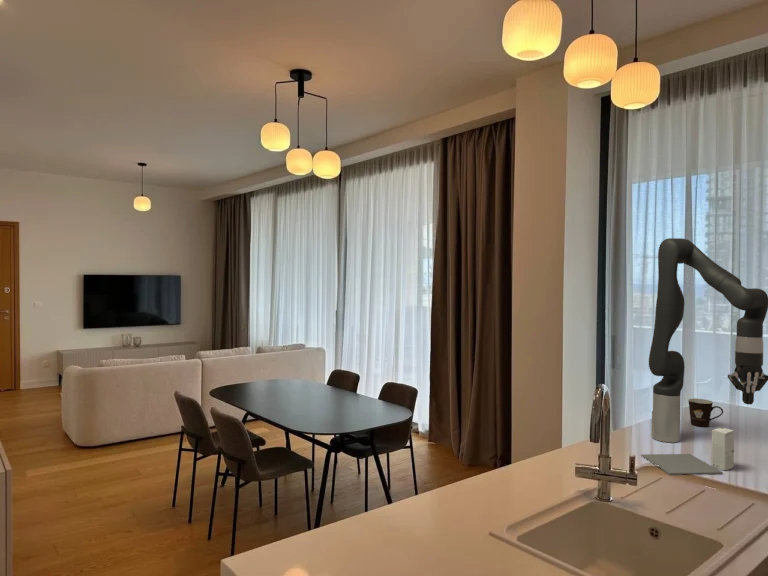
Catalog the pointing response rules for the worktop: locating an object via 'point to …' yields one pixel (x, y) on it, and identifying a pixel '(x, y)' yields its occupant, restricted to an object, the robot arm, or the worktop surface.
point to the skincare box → (723, 448)
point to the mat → (681, 464)
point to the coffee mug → (701, 412)
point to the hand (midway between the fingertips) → (747, 403)
